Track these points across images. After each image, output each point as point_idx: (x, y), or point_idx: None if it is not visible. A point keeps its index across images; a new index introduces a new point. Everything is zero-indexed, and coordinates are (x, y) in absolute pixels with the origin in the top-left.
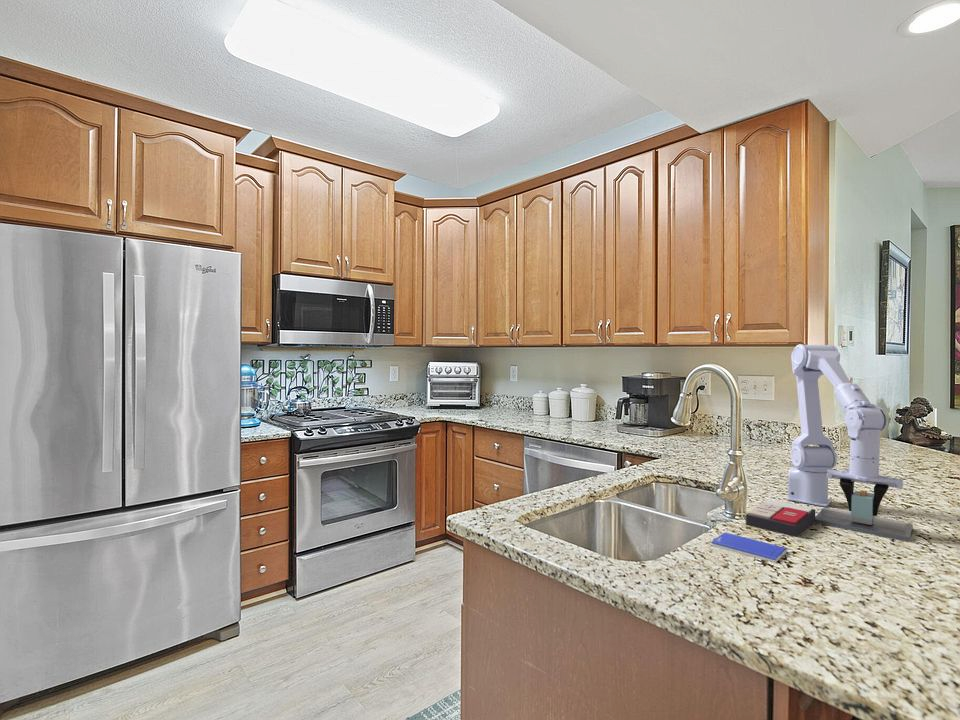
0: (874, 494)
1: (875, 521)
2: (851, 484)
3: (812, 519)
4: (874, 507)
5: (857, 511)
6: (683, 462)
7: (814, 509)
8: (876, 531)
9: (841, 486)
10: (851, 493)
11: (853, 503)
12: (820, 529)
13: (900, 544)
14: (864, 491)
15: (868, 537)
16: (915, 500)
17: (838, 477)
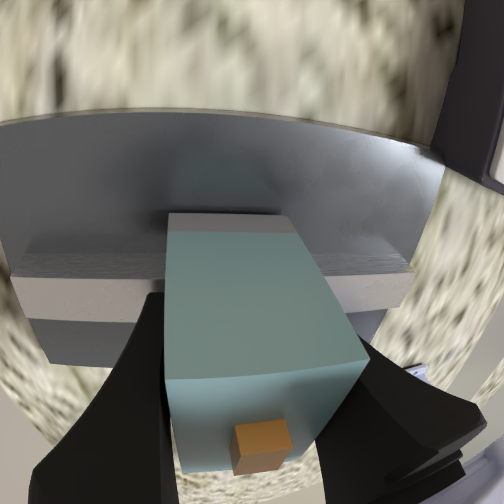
0: (153, 442)
1: (154, 266)
2: (391, 475)
3: (466, 105)
4: (156, 333)
5: (272, 257)
6: (482, 405)
7: (482, 179)
8: (135, 110)
9: (466, 403)
10: (360, 395)
11: (322, 301)
12: (420, 40)
13: (26, 32)
14: (255, 464)
15: (183, 24)
16: None
17: (463, 478)
